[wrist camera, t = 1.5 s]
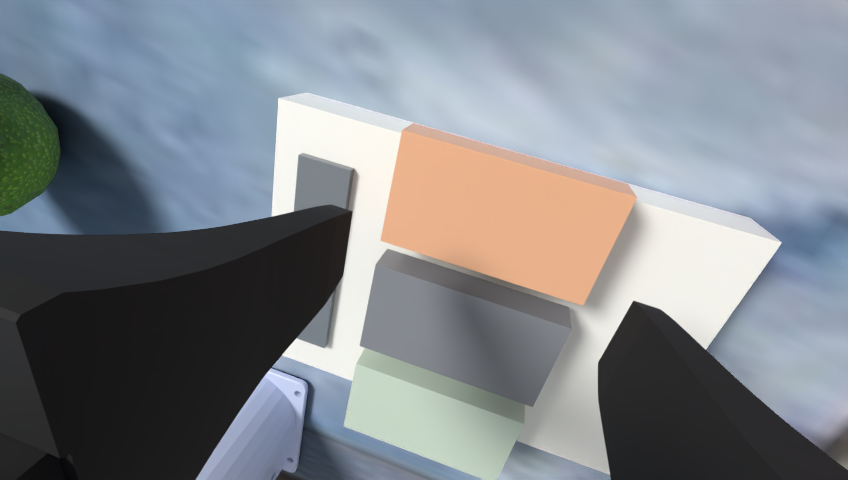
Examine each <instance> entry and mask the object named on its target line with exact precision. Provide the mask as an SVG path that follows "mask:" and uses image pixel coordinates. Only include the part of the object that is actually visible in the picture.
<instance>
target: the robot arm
mask: <svg viewBox="0 0 848 480" xmlns="http://www.w3.org/2000/svg"><path fill="white" fill-rule="evenodd" d="M352 213H353V211H350V210H347V209H344V208H341V207H338V206H335V205H331V204H330V205H322V206H316V207H312V208H307V209H303V210H299V211H294V212H290V213H286V214H281V215H277V216H273V217H268V218H264V219H259V220H254V221H248V222H243V223H238V224H233V225H228V226H222V227H215V228H208V229H200V230H191V231H181V232H170V233H150V234H129V235H66V234H40V233H24V232H10V231H0V480H276V478H277V477H278V475H279V473H280V472H281V470H282V469H283V470H285V471H288V472H291V473H293V472H295V471H296V469H297V467H298V462H299V454H300V446H301V438H302V431H303V423H304V415H305V408H306V400H307V392H308V385H307V383H306V382H305V381H304V380H302V379H299V378H296V377H294V376H291V375H288V374H285V373H283V372H280V371H277V370H275V369H272V368H271V367H272V366H273V365H274V364H275V362H276V361H277V360H278V359H279V358H280V357H281V356H282V354H283V353H284V352H285V351H286V350H287V349H288V347H289V346H290V345H291V344H292V343H293V342H294V341H295V339H296V338H297V337H298V336H299V335H300V334H301V332H302V331H303V330H304V329H305V328H306V327H307V325H308V324H309V323H310V322H311V321H312V320H313V318H314V317H315V316H316V315H317V314H318V313H319V311H320V310H321V309H322V308H323V307H324V305H325V304H326V303H327V301H328V300H329V298H330V296H331V295H332V293H333V292H334V290H335V289H336V287H337V285H338V284H339V282H340V280H341V279H342V277H343V274H344V267H345V260H346V253H347V247H348V240H349V233H350V226H351V220H352ZM598 402H599V409H600V416H601V422H602V428H603V434H604V440H605V446H606V452H607V458H608V464H609V470H610V476H611V480H848V470H847V469H845V468H844V467H843V466H841V465H840V464H839V463H837V462H836V461H835V460H833V459H832V458H831V457H829V456H828V455H827V454H826V453H824V452H823V451H822V450H821V449H819V448H818V447H817V446H815V445H814V444H813V443H812V442H810V441H809V440H808V439H806V438H805V437H804V436H803V435H801V434H800V433H799V432H797V431H796V430H795V429H794V428H792V427H791V426H790V425H789V424H788V423H786V422H785V421H784V420H783V419H782V418H780V417H779V416H778V415H777V414H776V413H774V412H773V411H772V410H771V409H770V408H769V407H768V406H766V405H765V404H764V403H763V402H762V401H761V400H760V399H758V398H757V397H756V396H755V395H754V394H753V393H752V392H750V391H749V390H748V389H747V388H746V387H745V386H744V385H743V384H742V383H740V382H739V381H738V380H737V379H736V378H735V377H734V376H733V375H732V374H731V373H730V372H729V371H727V370H726V369H725V368H724V367H723V366H722V365H721V364H720V363H719V362H718V361H717V360H716V359H715V358H714V357H713V356H712V355H711V354H710V353H708V352H707V351H706V350H705V349H704V348H703V347H702V346H701V345H700V344H699V343H698V342H697V341H696V340H695V339H694V338H693V337H692V336H691V335H690V334H689V333H687V332H686V331H685V330H684V329H683V328H682V327H681V326H680V325H679V324H678V323H677V322H676V321H674V320H673V319H672V318H671V317H670V316H668V315H667V314H666V313H665V312H663V311H662V310H661V309H658V308H655V307H652V306H649V305H646V304H643V303H640V302H636V301H633V302H632V304H631V306H630V307H629V309H628V311H627V313H626V314H625V316H624V318H623V320H622V321H621V323H620V325H619V327H618V328H617V330H616V332H615V334H614V335H613V337H612V339H611V341H610V342H609V344H608V346H607V348H606V349H605V351H604V353H603V355H602V357H601V358H600V360H599V362H598Z"/></svg>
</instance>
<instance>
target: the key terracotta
mask: <svg viewBox="0 0 848 480" xmlns="http://www.w3.org/2000/svg"><path fill="white" fill-rule="evenodd" d="M636 199H637V196H636V195H635V193H634V192H633V190H632V189H631V188H630V186H629V185H628V184H627V183H623V182H620V181H616V180H613V179H609V178H606V177H602V176H599V175H595V174H592V173H588V172H584V171H581V170H577V169H574V168H570V167H567V166H563V165H560V164H556V163H553V162H549V161H546V160H542V159H539V158H535V157H532V156H528V155H525V154H521V153H517V152H514V151H510V150H507V149H503V148H500V147H496V146H493V145H489V144H486V143H482V142H479V141H475V140H472V139H468V138H465V137H461V136H458V135H454V134H450V133H447V132H443V131H440V130H436V129H433V128H429V127H426V126H422V125H419V124H415V123H413V124H411V125H409V126H408V127H406V128H405V129H403V130H402V133H401V139H400V144H399V149H398V154H397V159H396V164H395V169H394V174H393V179H392V184H391V189H390V194H389V199H388V204H387V209H386V214H385V219H384V225H383V230H382V235H381V240H380V241H383V242H386V243H389V244H392V245H395V246H398V247H401V248H404V249H408V250H411V251H414V252H417V253H420V254H423V255H426V256H429V257H433V258H436V259H439V260H442V261H445V262H448V263H451V264H454V265H457V266H461V267H464V268H467V269H470V270H473V271H476V272H479V273H482V274H485V275H489V276H492V277H495V278H498V279H501V280H504V281H507V282H510V283H514V284H517V285H520V286H523V287H526V288H529V289H532V290H535V291H538V292H542V293H545V294H548V295H551V296H554V297H557V298H560V299H563V300H566V301H570V302H573V303H576V304H579V305H582V306H583V305H584V303H585V301H586V299H587V297H588V295H589V293H590V291H591V289H592V287H593V285H594V283H595V281H596V279H597V277H598V275H599V273H600V271H601V269H602V267H603V265H604V263H605V261H606V259H607V257H608V255H609V253H610V251H611V249H612V247H613V245H614V243H615V241H616V239H617V237H618V235H619V233H620V231H621V229H622V227H623V225H624V223H625V221H626V219H627V217H628V215H629V213H630V211H631V209H632V207H633V205H634V203H635V201H636Z"/></svg>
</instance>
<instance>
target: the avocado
mask: <svg viewBox="0 0 848 480" xmlns="http://www.w3.org/2000/svg"><path fill="white" fill-rule="evenodd" d="M60 154H61V149H60V143H59V136H58V129H57V127H56V125H55V124H54V122H53V121H52V120H51V118H50V117H49V115H48V114H47V112H46V111H45V109H44V108H43V106H42V104H41V103H40V102H39V101H38V100H37V99H36V98H35V97H34V96H33V95H32V94H31V93H30V92H28V91H27V90H26V89H25V88H24V87H23V86H22V85H21V84H20V83H18V82H16V81H15V80H13V79H11V78H9V77H8V76H5V75H3V74H0V216H3V215H7V214H11V213H12V212H14V211H15V210H17V209H19V208H20V207H22V206H23V205H25V204H26V203H28V202H29V201H31V200H33V199H34V198H36V197H37V196H39V195H40V194H42V193H43V191H44V190H45V189H46V188H47V187H48V185H49V184H50V183H51V182H52V181H53V179H54V177H55V175H56V172H57V170H58V165H59V160H60Z"/></svg>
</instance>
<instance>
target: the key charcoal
mask: <svg viewBox="0 0 848 480" xmlns="http://www.w3.org/2000/svg"><path fill="white" fill-rule="evenodd" d="M571 329H572V326H571V318H570V311H569V307H567V306H564V305H561V304H558V303H555V302H552V301H549V300H545V299H542V298H539V297H536V296H533V295H530V294H527V293H524V292H521V291H518V290H514V289H511V288H508V287H505V286H502V285H499V284H496V283H493V282H490V281H487V280H483V279H480V278H477V277H474V276H471V275H468V274H465V273H462V272H459V271H456V270H452V269H449V268H446V267H443V266H440V265H437V264H434V263H431V262H428V261H425V260H421V259H418V258H415V257H412V256H409V255H406V254H403V253H400V252H397V251H394V250H390V249H387V250H386V251H385V252H384V254H383V255H382V256H381V258H380V259H379V260H378V262H377V263H376V265H375V270H374V275H373V280H372V285H371V290H370V295H369V300H368V305H367V311H366V316H365V321H364V326H363V331H362V336H361V341H360V346H361V347H364V348H367V349H370V350H372V351H375V352H378V353H381V354H384V355H387V356H389V357H392V358H395V359H398V360H401V361H404V362H406V363H409V364H412V365H415V366H418V367H420V368H423V369H426V370H429V371H432V372H435V373H437V374H440V375H443V376H446V377H449V378H452V379H454V380H457V381H460V382H463V383H466V384H469V385H471V386H474V387H477V388H480V389H483V390H485V391H488V392H491V393H494V394H497V395H500V396H502V397H505V398H508V399H511V400H514V401H517V402H519V403H522V404H525V405H528V406H531V407H533V406H534V404H535V402H536V400H537V398H538V396H539V394H540V392H541V390H542V388H543V386H544V384H545V382H546V380H547V378H548V376H549V374H550V372H551V370H552V368H553V366H554V364H555V362H556V360H557V358H558V356H559V354H560V352H561V350H562V348H563V346H564V344H565V342H566V340H567V338H568V336H569V333H570V331H571Z"/></svg>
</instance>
